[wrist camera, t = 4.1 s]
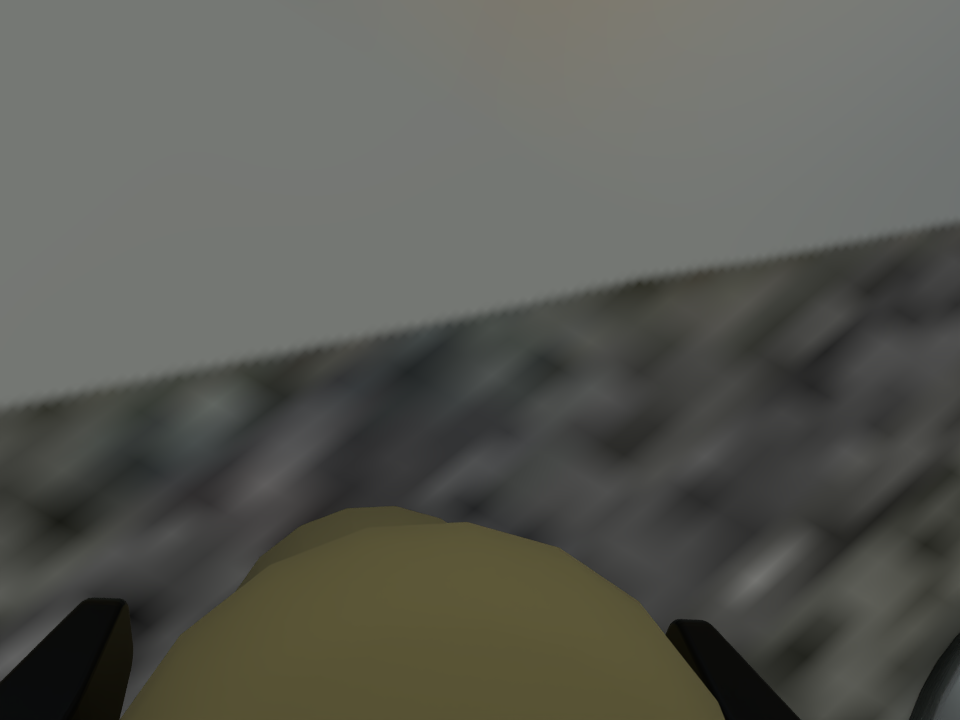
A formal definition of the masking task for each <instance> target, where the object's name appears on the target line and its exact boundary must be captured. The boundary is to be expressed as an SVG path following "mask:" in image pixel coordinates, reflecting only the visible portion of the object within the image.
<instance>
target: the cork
mask: <svg viewBox="0 0 960 720" xmlns="http://www.w3.org/2000/svg"><path fill="white" fill-rule="evenodd" d="M120 720H725V718H724V716H723V713H722V711H721V708H720V706H719V703H718V701H717V700H716V699H715V697H714V696H713V695H712V694H711V692H710V691H709V690H708V689H707V687H706V686H705V685H704V684H703V682H702V681H701V680H700V678H699V677H698V676H697V675H696V673H695V672H694V671H693V670H692V668H691V667H690V666H689V665H688V663H687V662H686V661H685V659H684V658H683V657H682V656H681V654H680V653H679V652H678V651H677V649H676V648H675V647H674V646H673V644H672V643H671V642H670V640H669V639H668V638H667V637H666V635H665V634H664V633H663V632H662V630H661V629H660V628H659V627H658V625H657V624H656V623H655V621H654V620H653V619H652V618H651V616H650V615H649V614H648V613H647V611H646V610H645V609H644V608H643V606H642V605H641V604H640V602H639V601H637V600H636V599H634V598H633V597H631V596H630V595H628V594H627V593H625V592H624V591H622V590H621V589H619V588H618V587H616V586H615V585H613V584H612V583H610V582H609V581H607V580H606V579H605V578H603V577H602V576H600V575H599V574H597V573H596V572H594V571H593V570H591V569H590V568H588V567H587V566H585V565H584V564H582V563H581V562H579V561H578V560H576V559H575V558H573V557H572V556H570V555H569V554H568V553H566V552H565V551H563V550H562V549H560V548H558V547H554V546H550V545H547V544H543V543H540V542H536V541H533V540H529V539H525V538H522V537H518V536H515V535H511V534H507V533H504V532H500V531H497V530H493V529H490V528H486V527H482V526H479V525H475V524H472V523H468V522H461V523H446V522H445V521H443V520H442V519H440V518H436V517H432V516H429V515H425V514H422V513H418V512H415V511H411V510H407V509H404V508H400V507H397V506H387V507H366V508H347V509H344V510H342V511H339V512H336V513H334V514H331V515H328V516H326V517H323V518H320V519H318V520H315V521H312V522H310V523H307V524H304V525H302V526H300V527H298V528H297V529H296V530H294V531H293V532H292V533H291V534H289V535H288V536H287V537H285V538H284V539H283V540H282V541H280V542H279V543H278V544H277V545H275V546H274V547H273V548H271V549H270V550H269V551H268V552H266V553H265V554H264V555H262V556H261V557H260V558H259V559H258V561H257V562H256V563H255V565H254V566H253V568H252V569H251V570H250V572H249V573H248V575H247V576H246V578H245V579H244V580H243V582H242V583H241V585H240V586H239V588H238V589H237V590H236V592H235V593H233V594H232V595H231V596H230V597H228V598H227V599H226V600H224V601H223V602H222V603H221V604H219V605H218V606H217V607H215V608H214V609H213V610H212V611H210V612H209V613H208V614H207V615H205V616H204V617H203V618H201V619H200V620H199V621H198V622H196V623H195V624H194V625H193V626H191V627H190V628H189V629H187V630H186V631H185V632H184V633H182V634H181V635H180V636H179V638H178V639H177V640H176V642H175V643H174V645H173V646H172V647H171V649H170V650H169V652H168V653H167V654H166V656H165V657H164V659H163V660H162V661H161V663H160V664H159V666H158V667H157V668H156V670H155V671H154V673H153V674H152V675H151V677H150V678H149V680H148V681H147V682H146V684H145V685H144V687H143V688H142V689H141V691H140V692H139V694H138V695H137V696H136V698H135V699H134V701H133V702H132V703H131V705H130V706H129V708H128V709H127V710H126V712H125V713H124V715H123V716H122V717H121V719H120Z"/></svg>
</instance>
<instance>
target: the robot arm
mask: <svg viewBox="0 0 960 720" xmlns="http://www.w3.org/2000/svg"><path fill="white" fill-rule="evenodd" d="M666 637H667V638H668V639H669V640H670V642H671V643H672V644H673V646H674V647H675V648H676V649H677V651H678V652H679V653H680V654H681V656H682V657H683V658H684V659H685V661H686V662H687V663H688V665H689V666H690V667H691V668H692V670H693V671H694V672H695V673H696V675H697V676H698V677H699V678H700V680H701V681H702V682H703V684H704V685H705V686H706V687H707V689H708V690H709V691H710V692H711V694H712V695H713V696H714V697H715V699H716V700H717V701H718V703H719V706H720V708H721V711H722V713H723V716H724V718H725V720H801V719H800V718H799V717H798V716H797V715H796V714H795V713H794V712H793V711H792V710H791V709H790V708H789V707H788V706H787V705H786V703H785V702H784V701H783V700H782V699H781V698H780V697H779V696H778V695H777V694H776V693H775V692H774V691H773V690H772V689H771V687H770V686H769V685H768V684H767V683H766V682H765V681H764V680H763V679H762V678H761V677H760V676H759V675H758V674H757V673H756V671H755V670H754V669H753V668H752V667H751V666H750V665H749V664H748V663H747V662H746V661H745V660H744V659H743V658H742V657H741V655H740V654H739V653H738V652H737V651H736V650H735V649H734V648H733V647H732V646H731V645H730V644H729V643H728V642H727V641H726V639H725V638H724V637H723V636H722V635H721V634H720V633H719V632H718V631H717V630H716V629H715V628H714V627H713V626H712V625H711V624H709V623H708V622H706V621H703V620H688V619H677V620H675V621H673V622H672V623H671V624H670V626H669V628H668V630H667V632H666ZM132 659H133V642H132V633H131V624H130V615H129V607H128V605H127V603H126V601H125V600H123V599H120V598H88V599H86V600H84V601H82V602H81V603H80V604H79V605H78V606H77V607H76V608H75V609H74V610H73V611H71V612H70V613H69V614H68V615H67V616H66V617H65V618H64V619H63V620H62V621H61V622H60V623H59V624H58V625H57V626H56V627H55V628H54V629H53V630H52V631H51V632H50V633H49V634H48V635H47V636H46V637H45V638H44V639H43V640H42V641H41V642H40V643H39V644H38V645H37V646H36V647H35V648H34V649H33V650H32V651H31V652H30V653H29V654H28V655H27V656H26V657H25V658H24V659H23V660H22V661H21V662H20V663H19V664H18V665H17V666H16V667H15V668H14V669H13V670H12V671H11V672H10V673H9V674H8V675H7V676H6V677H5V678H4V679H3V680H2V681H1V682H0V720H119V719H120V714H121V710H122V706H123V701H124V697H125V693H126V688H127V684H128V680H129V675H130V671H131V666H132Z"/></svg>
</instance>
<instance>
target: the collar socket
mask: <svg viewBox="0 0 960 720" xmlns="http://www.w3.org/2000/svg"><path fill="white" fill-rule="evenodd" d="M910 720H960V633H959V634H958V635H957V636H956V638H955V639H954V640H953V642H952V643H951V644H950V645H949V647H948V648H947V649H946V651H945V652H944V653H943V655H942V656H941V657H940V659H939V660H938V661H937V663H936V665H935V667H934V669H933V670H932V672H931V674H930V676H929V678H928V679H927V681H926V683H925V685H924V686H923V688H922V690H921V693H920V695H919V698H918V700H917V703H916V705H915V708H914V710H913V713H912V715H911V718H910Z"/></svg>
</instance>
